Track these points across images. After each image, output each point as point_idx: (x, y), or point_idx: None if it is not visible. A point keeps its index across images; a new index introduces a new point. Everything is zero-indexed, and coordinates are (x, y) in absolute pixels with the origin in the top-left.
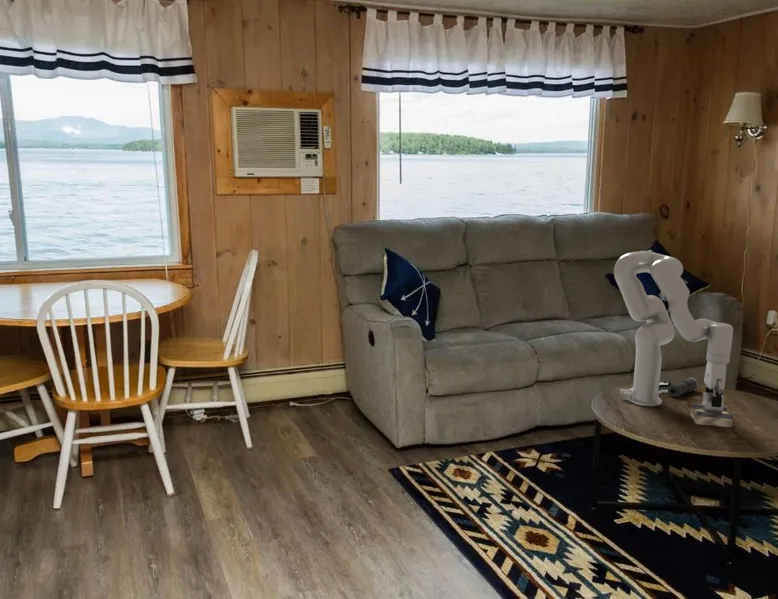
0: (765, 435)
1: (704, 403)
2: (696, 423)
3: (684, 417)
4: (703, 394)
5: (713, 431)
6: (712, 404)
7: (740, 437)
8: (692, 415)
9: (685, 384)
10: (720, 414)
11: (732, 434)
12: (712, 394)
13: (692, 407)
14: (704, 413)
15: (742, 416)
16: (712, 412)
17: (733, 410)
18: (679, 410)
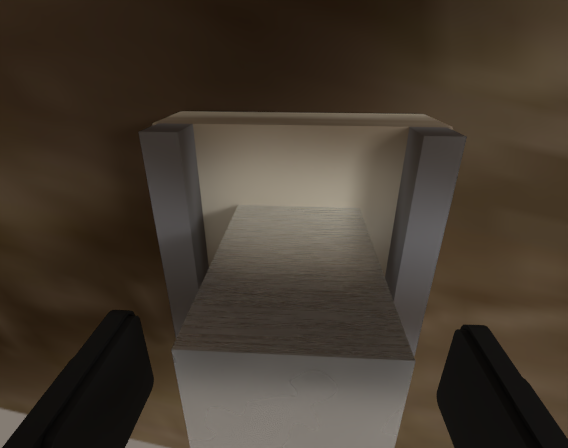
0: (151, 428)
1: (253, 259)
2: (180, 113)
3: (329, 33)
4: (374, 329)
5: (74, 206)
6: (102, 332)
7: (55, 327)
8: (346, 115)
9: None
10: (174, 326)
11: (82, 301)
12: (299, 444)
13: (410, 131)
14: (155, 202)
15: (416, 417)
16: (191, 279)
17: None
18: (538, 20)
